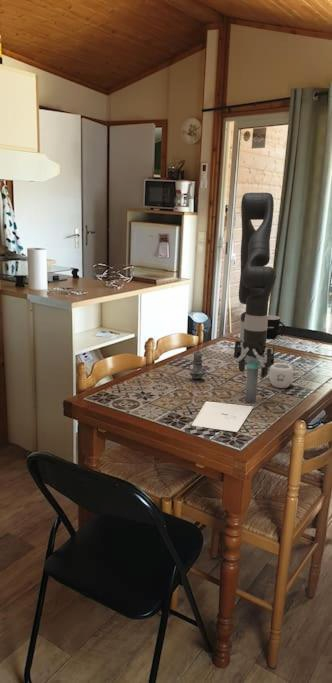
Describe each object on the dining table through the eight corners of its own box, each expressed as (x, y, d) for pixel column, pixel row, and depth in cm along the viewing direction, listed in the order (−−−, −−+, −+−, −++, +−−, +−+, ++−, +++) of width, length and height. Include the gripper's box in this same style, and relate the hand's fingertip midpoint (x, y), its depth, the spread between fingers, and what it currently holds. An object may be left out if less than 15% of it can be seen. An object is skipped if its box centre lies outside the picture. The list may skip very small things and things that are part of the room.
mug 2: (266, 388, 195) (268, 367, 193) (270, 380, 203) (271, 360, 201) (300, 392, 192) (302, 371, 190) (303, 385, 199) (304, 364, 197)
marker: (249, 398, 186) (251, 359, 182) (258, 401, 183) (261, 362, 179) (242, 401, 183) (245, 362, 179) (252, 404, 180) (254, 364, 177)
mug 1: (257, 338, 262) (258, 317, 259) (263, 334, 270) (264, 314, 267) (281, 341, 257) (283, 321, 254) (286, 337, 264) (288, 317, 262)
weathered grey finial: (203, 383, 199) (204, 352, 195) (187, 382, 200) (188, 351, 196) (205, 378, 204) (206, 348, 201) (190, 377, 205) (191, 346, 202)
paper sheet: (234, 437, 156) (234, 434, 156) (146, 421, 169) (146, 417, 168) (258, 409, 176) (258, 406, 176) (178, 396, 189) (178, 393, 189)
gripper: (280, 329, 174) (276, 376, 179) (244, 321, 183) (241, 366, 188) (268, 333, 169) (264, 382, 173) (231, 325, 178) (228, 371, 183)
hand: (252, 373), depth 181 cm, fingers open, 8 cm apart
